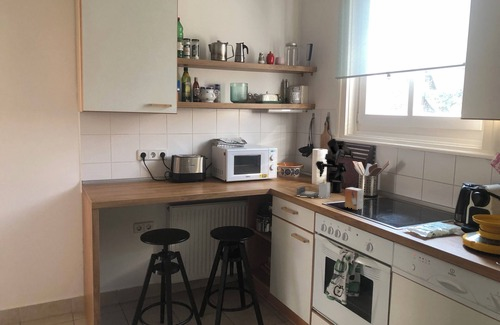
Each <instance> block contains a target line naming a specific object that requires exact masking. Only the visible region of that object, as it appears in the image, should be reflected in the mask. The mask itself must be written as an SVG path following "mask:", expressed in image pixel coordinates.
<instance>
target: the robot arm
mask: <svg viewBox="0 0 500 325" xmlns="http://www.w3.org/2000/svg"><path fill="white" fill-rule="evenodd" d="M326 144H327V147H328V150H329V152H331V153H326V154H325V156H324V160H326V161H325V162H326V163H324V161H323V160H321V161H320V160H317V161H316V162H315V166H316V168H317V170H318V171H319V178H321V177H322V176H323V174H324V172H325V168H331V170H330V172H329V173H328V182H330V183H331V190H330V193H333V192H334V193H335V194H336V193H337V194H341V193H342V192H344V191H343V190H342V184H344V183H345V177H344V174H345V173H346V172H347V171H348V170H347V165H346V164H345V163H343V162H340V161H339V160H340V157H342V154H343V157H342V159H343V158H344V157H345V158H346V156H350V157H351V159H352V158H353V154H354V153H353V149H351V148H350V147H348V146H347V145H346V142H345V141H344V140H336V138H331V139H330V140H329V141H327V143H326Z"/></svg>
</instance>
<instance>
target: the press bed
mask: <svg viewBox="0 0 500 325" xmlns="http://www.w3.org/2000/svg"><path fill="white" fill-rule="evenodd" d="M296 195H300V196H307V197H316V196H318V195H319V191H310V190H306V186H305V185H302V186H299V187H297V188H296ZM296 195H295V196H296ZM318 197H319V196H318ZM316 198H317V197H316Z"/></svg>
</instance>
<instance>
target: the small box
mask: <svg viewBox="0 0 500 325" xmlns="http://www.w3.org/2000/svg"><path fill="white" fill-rule="evenodd" d="M344 191H345V193H344V207H345V208H347V207H348V209H351V208H352V209H351V210H355V211H359V210H362V209H363V208H364V189H363V188H356V187H353V186H351V187H346V188H345V190H344ZM358 209H359V210H358Z"/></svg>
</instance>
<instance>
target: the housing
mask: <svg viewBox="0 0 500 325" xmlns="http://www.w3.org/2000/svg"><path fill="white" fill-rule="evenodd" d="M330 191H331V182H329V181H326V180H323V181H320V182H318V192H319V196H318V198H319V197H322V198H321V199H324V198H327V199H329V198H331V192H330ZM328 197H329V198H328Z"/></svg>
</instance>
